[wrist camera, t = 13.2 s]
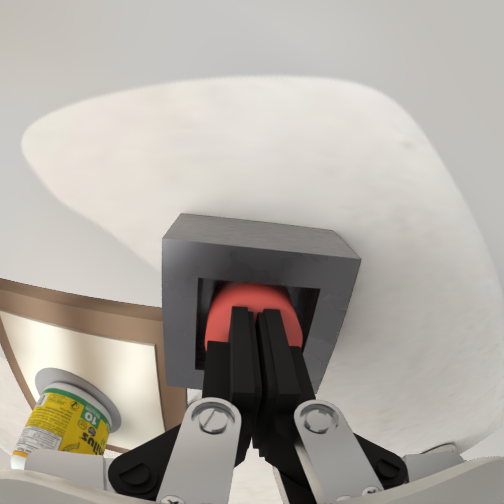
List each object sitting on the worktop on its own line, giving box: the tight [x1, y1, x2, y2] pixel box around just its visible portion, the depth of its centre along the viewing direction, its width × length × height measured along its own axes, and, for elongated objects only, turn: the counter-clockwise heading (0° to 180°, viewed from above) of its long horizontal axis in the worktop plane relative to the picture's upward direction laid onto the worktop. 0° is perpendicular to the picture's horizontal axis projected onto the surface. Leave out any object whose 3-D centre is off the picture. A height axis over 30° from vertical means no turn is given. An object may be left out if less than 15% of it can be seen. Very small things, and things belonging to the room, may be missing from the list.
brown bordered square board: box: [0, 278, 188, 454], centre depth 16 cm, size 14×15×2 cm
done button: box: [205, 280, 303, 351], centre depth 12 cm, size 4×4×2 cm
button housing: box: [162, 214, 361, 394], centre depth 13 cm, size 7×7×4 cm
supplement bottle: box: [11, 382, 112, 470], centre depth 11 cm, size 5×5×10 cm
